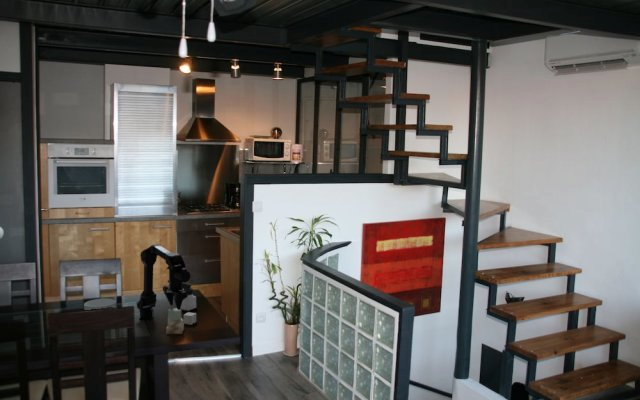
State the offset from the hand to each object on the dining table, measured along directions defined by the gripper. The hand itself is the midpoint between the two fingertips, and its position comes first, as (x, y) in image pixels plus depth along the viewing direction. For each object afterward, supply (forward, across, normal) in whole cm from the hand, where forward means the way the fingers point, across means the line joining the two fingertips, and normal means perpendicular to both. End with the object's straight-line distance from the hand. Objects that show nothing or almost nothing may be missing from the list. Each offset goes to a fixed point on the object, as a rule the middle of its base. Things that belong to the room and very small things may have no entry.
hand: (175, 307), depth 307 cm
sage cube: (+6, 0, 0) cm, 6 cm away
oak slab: (+13, 0, 0) cm, 13 cm away
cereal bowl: (+13, +50, +24) cm, 57 cm away
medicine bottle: (+13, +32, -22) cm, 41 cm away
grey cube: (+13, +8, -12) cm, 19 cm away
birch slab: (+10, 0, 0) cm, 10 cm away
